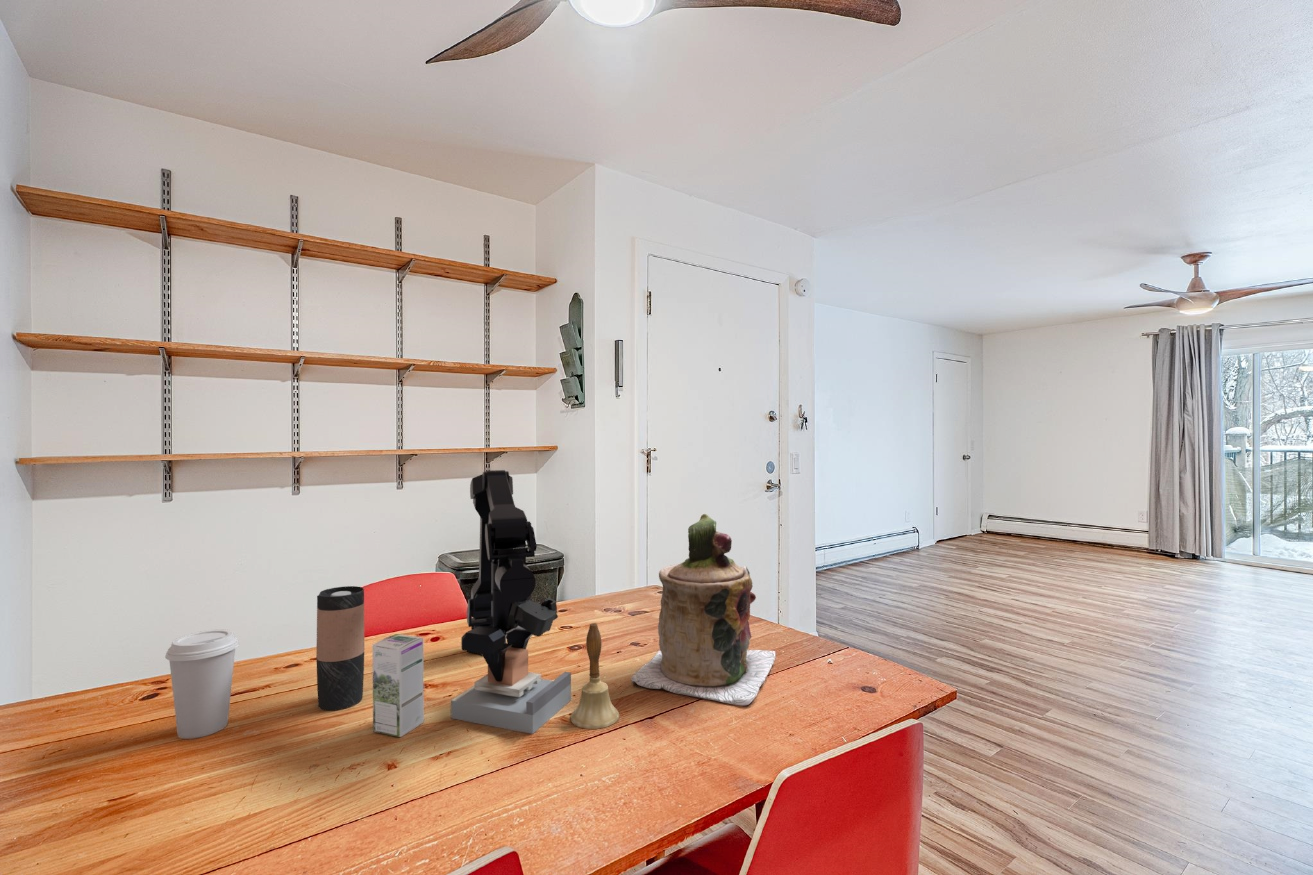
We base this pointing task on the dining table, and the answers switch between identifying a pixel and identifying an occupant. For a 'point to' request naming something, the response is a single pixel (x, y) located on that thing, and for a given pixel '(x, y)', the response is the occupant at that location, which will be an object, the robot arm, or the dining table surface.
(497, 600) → the robot arm
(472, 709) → the dock
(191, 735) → the coffee cup
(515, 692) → the pallet
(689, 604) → the cookie jar
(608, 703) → the hand bell
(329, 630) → the travel mug
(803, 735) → the dining table surface
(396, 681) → the syrup box
